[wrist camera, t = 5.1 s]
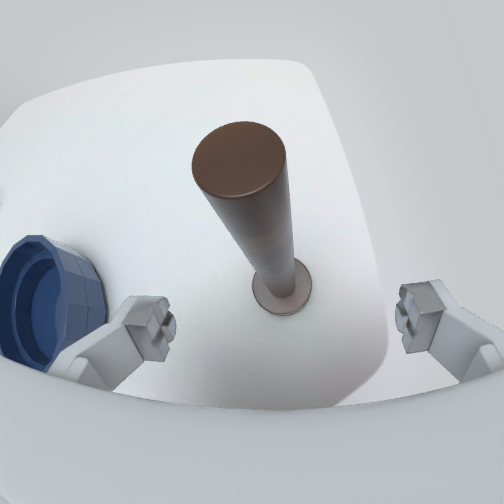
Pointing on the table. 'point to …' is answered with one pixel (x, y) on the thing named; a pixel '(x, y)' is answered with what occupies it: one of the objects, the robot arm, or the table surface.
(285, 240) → the stick
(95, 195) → the table surface
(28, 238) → the bowl
